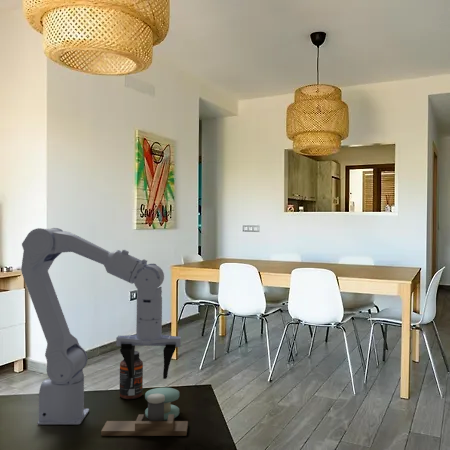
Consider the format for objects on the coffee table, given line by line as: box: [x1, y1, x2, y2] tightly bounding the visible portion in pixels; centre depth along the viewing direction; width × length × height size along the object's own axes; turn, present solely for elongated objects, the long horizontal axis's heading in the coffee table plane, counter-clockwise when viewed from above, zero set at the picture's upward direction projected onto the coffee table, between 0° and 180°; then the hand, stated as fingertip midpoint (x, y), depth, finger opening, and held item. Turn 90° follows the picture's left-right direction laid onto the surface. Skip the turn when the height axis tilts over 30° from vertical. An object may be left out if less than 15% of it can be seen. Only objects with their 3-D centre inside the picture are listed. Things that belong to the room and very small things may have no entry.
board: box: [100, 413, 189, 437], centre depth 102 cm, size 18×5×2 cm, turn 91°
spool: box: [144, 387, 180, 421], centre depth 111 cm, size 8×8×5 cm
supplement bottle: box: [119, 350, 144, 400], centre depth 122 cm, size 6×6×11 cm
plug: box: [146, 394, 165, 421], centre depth 103 cm, size 4×4×6 cm
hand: (148, 377), depth 107 cm, fingers open, 7 cm apart
